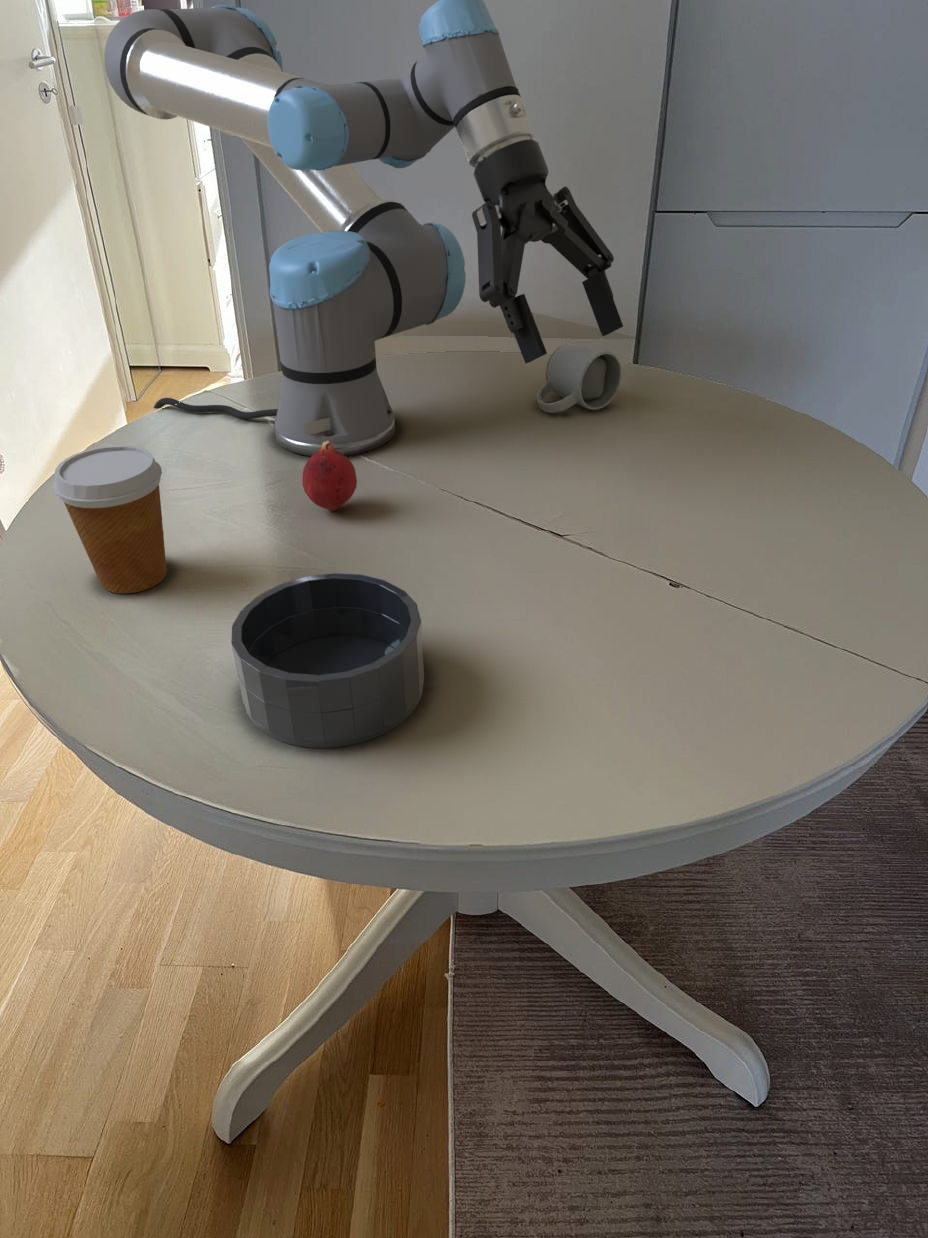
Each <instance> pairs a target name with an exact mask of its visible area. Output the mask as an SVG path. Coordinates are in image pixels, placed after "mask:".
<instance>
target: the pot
mask: <svg viewBox="0 0 928 1238" xmlns="http://www.w3.org/2000/svg"><path fill="white" fill-rule="evenodd" d="M230 637H231V640H230V641H231V648H232V653H233V658H234V664H235V667H236V668H235V669H236V673H237V679H238V685H239V690H240V695H241V699H242V703H243V705H244V708H245V711H246V714H247V716H248V717H249V719H250V720H251V722H252V723H253V724H254V726H256V727H257V728H258V729H259V730H260V731H261V732H263V733H264V734H266V736H269V737H270V738H272V739H275V740H276V741H279V742H282V743H285V744H288V745H291V746H297V747H302V748H311V749H331V748H341V747H342V748H343V747H348V746H352V745H356V744H360V743H365V742H367V741H370V740H373V739H376V738H378V737H380V736H383V735H384V734H386V733H388V732H390V731H392V730H393V729H395V728H396V727H397V726H399V725H401V724H402V723H403V722H404V721H405V720H406V719H407V718H408V717H409V716H410V715H411V714H412V713H413V711H414V710H415V709H417V706H418V705H419V703H420V701H421V697H422V695H423V691H424V681H425V670H424V669H425V668H424V650H423V647H424V646H423V629H422V618H421V614H420V611H419V607H418V604H417V602H416V601H415V600H414V599H413V598H412V597H411V596H410V595H409V594H408V592H407V591H405V590H404V589H402V588H400V587H398V586H396V585H394V584H392V583H390V582H388V581H387V580H386V579H385V580H384V579H381V578H377V577H373V576H369V575H364V574H358V573H357V574H356V573H340V572H339V573H338V572H337V573H335V572H333V573H324V574H314V575H308V576H307V575H306V576H303V577H300V578H296V579H293V580H290V581H286V582H282V583H279V584H278V585H276V586H273V587H271V588H269V589H267V590H265V591H263V592H262V593H260V594H258V595H257V596H256V597H254V598H253V599H252V600H250V602H248V603H247V604H246V605H245V606H244V607H242V608H241V610H240V611H239V613H238V615H237V616H236V618H235V620H234V621H233V623H232V625H231V636H230Z"/></svg>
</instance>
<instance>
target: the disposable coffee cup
mask: <svg viewBox="0 0 928 1238" xmlns="http://www.w3.org/2000/svg"><path fill="white" fill-rule="evenodd" d="M55 467H56V468H55V470H54V481H53V483H52V489H53V490H52V491H53V492H54V493H55V495H57V496H58V498H59V499H60V500H61V501H62V502H63V504H64V506H65V508H66V510H67V513H68V514H69V517H70V519H71V522H72V524H73V525H74V528H75V530H76V533H77V535H78V537H79V539H80V541H81V543H82V547H83V548H84V550H85V552H86V555H87V557H88V559H89V561H90V563H91V565H92V568H93V571H94V572H95V574H96V577H97V579H98V582H99V583H100V586H101V587H102V588H103V590H105V591H107V592H110V593H114V594H122V595H123V594H133V593H138V592H142V591H146V590H148V589H150V588H153V587H155V586H157V585H158V584H160V583H161V582H162V581H163V580H164V579H165V578H166V576H167V573H168V571H167V570H168V569H167V568H168V567H167V560H166V549H165V538H164V534H165V533H164V524H163V515H162V513H163V512H162V503H161V490H160V482H161V478H162V474H163V470H162V467H161V465H160V464H159V462H157V461H156V459H155V457H154V455H153V453H152V452H151V451H149V450H147V449H145V448H143V447H141V446H135V445H126V444H114V445H105V446H99V447H93V448H89V449H87V450H83V451H79V452H77V453H74V454H72V455H70V456H68V457H66V458H65V459H63V460H62V461H61V462H59V464H58V465H57V466H55Z"/></svg>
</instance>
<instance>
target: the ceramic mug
mask: <svg viewBox="0 0 928 1238" xmlns="http://www.w3.org/2000/svg"><path fill="white" fill-rule="evenodd" d="M622 375H623V374H622V365H621V362H620V360H619V358H618V356H617V355H616V354H615V353H613V352H611V351H609V350H604V349H600V348H595V347H590V346H588V345H584V344H579V343H566V344H563V345H560V346H558V347H557V348H556V349H555V350H554V351H553V352H552V354H551V355H550V357H549V359H548V361H547V363H546V368H545V380H546V382H545V383H544V384H543V385H542V386H541V387H540V388H539V390H538V391H536V392H537V393H536V401H537V404H538V407H539V408H540V410H542V411H543V412H545V413H547V414H556V413H560V412H564V411H566V410H567V409H569V408H571V407H573V406H574V405H575V404H576V405H578V406H580V407H582V408H584V409H587V410H591V411H597V410H601V409H603V408H606V406H608V405H609V404H610V403H611V402H612V401H613V400H614V398H615V397H616V396H617V393H618V391H619V389H620V386H621V381H622ZM551 392H553V393H555V395H557V396H559V397H560V398H562V399H560V400H557V401H555V402H551V403H550V402H549V403H546V402H545V401H544V399H545V398H546V397H547V396H548V395H549V394H550V393H551Z"/></svg>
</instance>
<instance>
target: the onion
mask: <svg viewBox="0 0 928 1238" xmlns="http://www.w3.org/2000/svg"><path fill="white" fill-rule="evenodd" d="M356 473H357V472H356V468H355V466H354V464H353V463H352V460H350V459H349V457H347V455H346V456H345V455H343V454H342V453H340V452H338V451H336V450H334V449H333V443H331V442H330V441H326V442H323V444H322V446H321V448H320V450H319V451H318V452H316V453H315V454H314V455H313V456H310V458H309V459H308V460H307V461H306V462H305V465H304V467H303V470H302V478H301V479H302V481H301V482H302V488H303V491H304V493H305V495H307V497H308V499H309V500H310V501H311V502H312V503H313V504H315V505H316V506H318V507H320V508H322V509H325V510H328V511H330V512H335V511H338V510H339V508H341V507H342V506H343V505H344V504H346V503H347V502H348V501H349V500H350V499H352V496H353V495H354V493H355V491H356V489H357V485H358V484H357V483H358V479H357V474H356Z"/></svg>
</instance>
